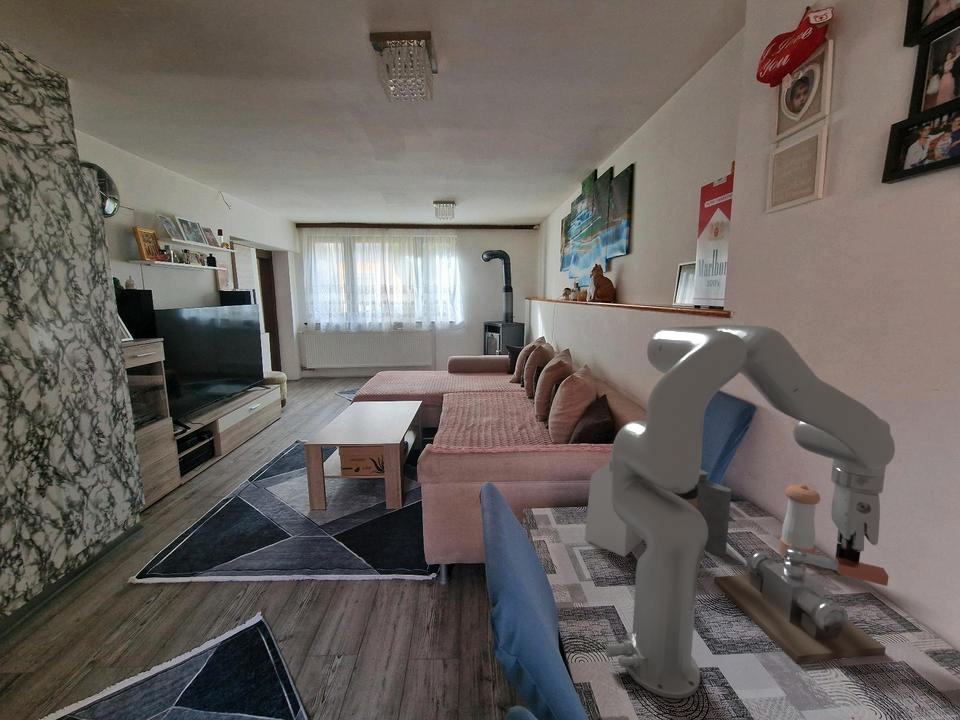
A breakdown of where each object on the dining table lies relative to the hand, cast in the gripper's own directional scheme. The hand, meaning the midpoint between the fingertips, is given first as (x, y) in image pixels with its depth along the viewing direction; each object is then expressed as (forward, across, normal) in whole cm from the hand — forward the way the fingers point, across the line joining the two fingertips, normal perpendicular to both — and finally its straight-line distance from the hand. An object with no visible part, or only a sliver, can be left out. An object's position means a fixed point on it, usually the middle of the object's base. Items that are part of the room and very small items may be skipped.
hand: (846, 565), depth 82 cm
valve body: (+10, -3, +9) cm, 14 cm away
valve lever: (0, -3, +3) cm, 4 cm away
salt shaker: (+12, +24, +3) cm, 27 cm away
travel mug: (+12, +8, +31) cm, 34 cm away
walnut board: (+12, -3, +9) cm, 15 cm away
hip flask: (+12, +19, +26) cm, 35 cm away
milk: (+12, +9, +46) cm, 49 cm away
